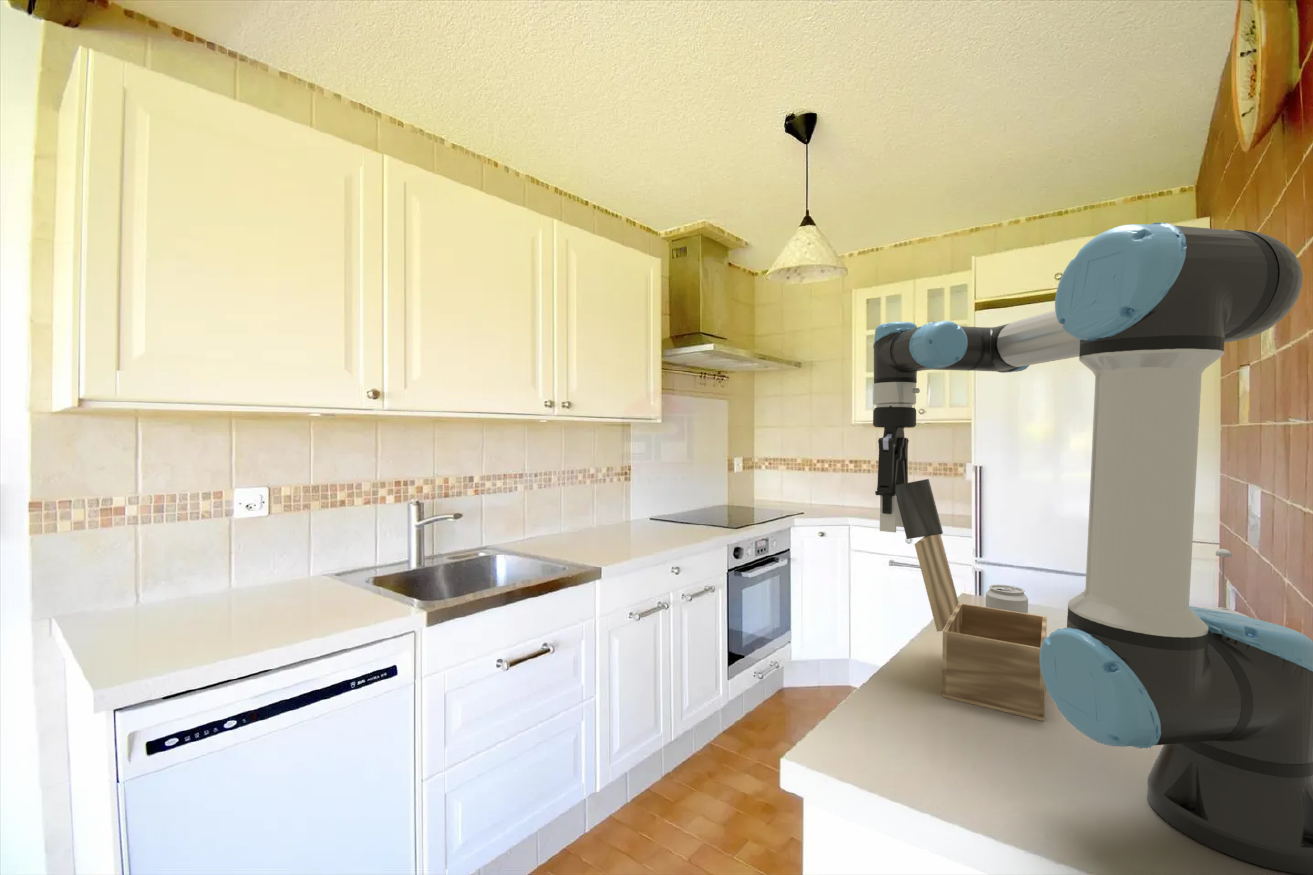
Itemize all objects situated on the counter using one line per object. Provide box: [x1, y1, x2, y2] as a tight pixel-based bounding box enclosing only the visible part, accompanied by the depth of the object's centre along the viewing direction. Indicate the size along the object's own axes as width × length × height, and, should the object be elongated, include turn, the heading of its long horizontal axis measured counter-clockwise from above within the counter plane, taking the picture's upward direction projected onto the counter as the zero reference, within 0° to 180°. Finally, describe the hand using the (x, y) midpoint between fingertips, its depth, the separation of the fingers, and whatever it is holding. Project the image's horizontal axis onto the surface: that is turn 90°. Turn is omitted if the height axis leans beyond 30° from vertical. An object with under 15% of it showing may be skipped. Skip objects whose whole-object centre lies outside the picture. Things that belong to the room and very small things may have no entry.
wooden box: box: [941, 602, 1048, 722], centre depth 101 cm, size 20×14×11 cm
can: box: [985, 584, 1029, 614], centre depth 120 cm, size 8×8×12 cm
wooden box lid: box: [895, 478, 960, 632], centre depth 107 cm, size 20×24×6 cm
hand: (892, 528), depth 110 cm, fingers open, 7 cm apart
